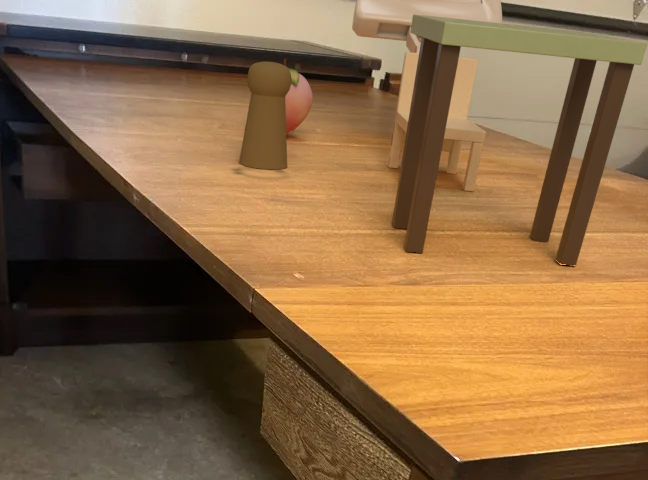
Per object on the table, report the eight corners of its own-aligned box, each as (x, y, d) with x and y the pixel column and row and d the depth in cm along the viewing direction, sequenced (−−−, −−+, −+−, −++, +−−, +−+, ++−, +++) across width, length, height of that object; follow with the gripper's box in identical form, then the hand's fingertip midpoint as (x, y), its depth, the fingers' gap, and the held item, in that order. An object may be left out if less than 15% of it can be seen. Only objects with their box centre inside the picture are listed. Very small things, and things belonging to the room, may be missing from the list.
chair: (454, 172, 108) (476, 59, 101) (473, 191, 98) (500, 67, 91) (387, 165, 108) (405, 51, 101) (400, 184, 98) (420, 59, 91)
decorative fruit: (237, 130, 121) (241, 53, 115) (285, 131, 125) (292, 56, 119) (267, 143, 114) (273, 61, 109) (317, 143, 118) (325, 64, 112)
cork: (252, 157, 104) (259, 58, 98) (295, 165, 102) (304, 65, 96) (229, 163, 100) (235, 59, 94) (274, 171, 98) (282, 66, 92)
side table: (532, 225, 86) (581, 31, 76) (581, 269, 73) (648, 43, 63) (382, 211, 85) (413, 14, 75) (404, 254, 72) (444, 21, 62)
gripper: (356, -51, 110) (353, 38, 107) (506, -36, 111) (506, 53, 108) (349, -12, 116) (346, 73, 113) (491, 3, 117) (491, 87, 114)
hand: (425, 63), depth 111 cm, fingers closed
